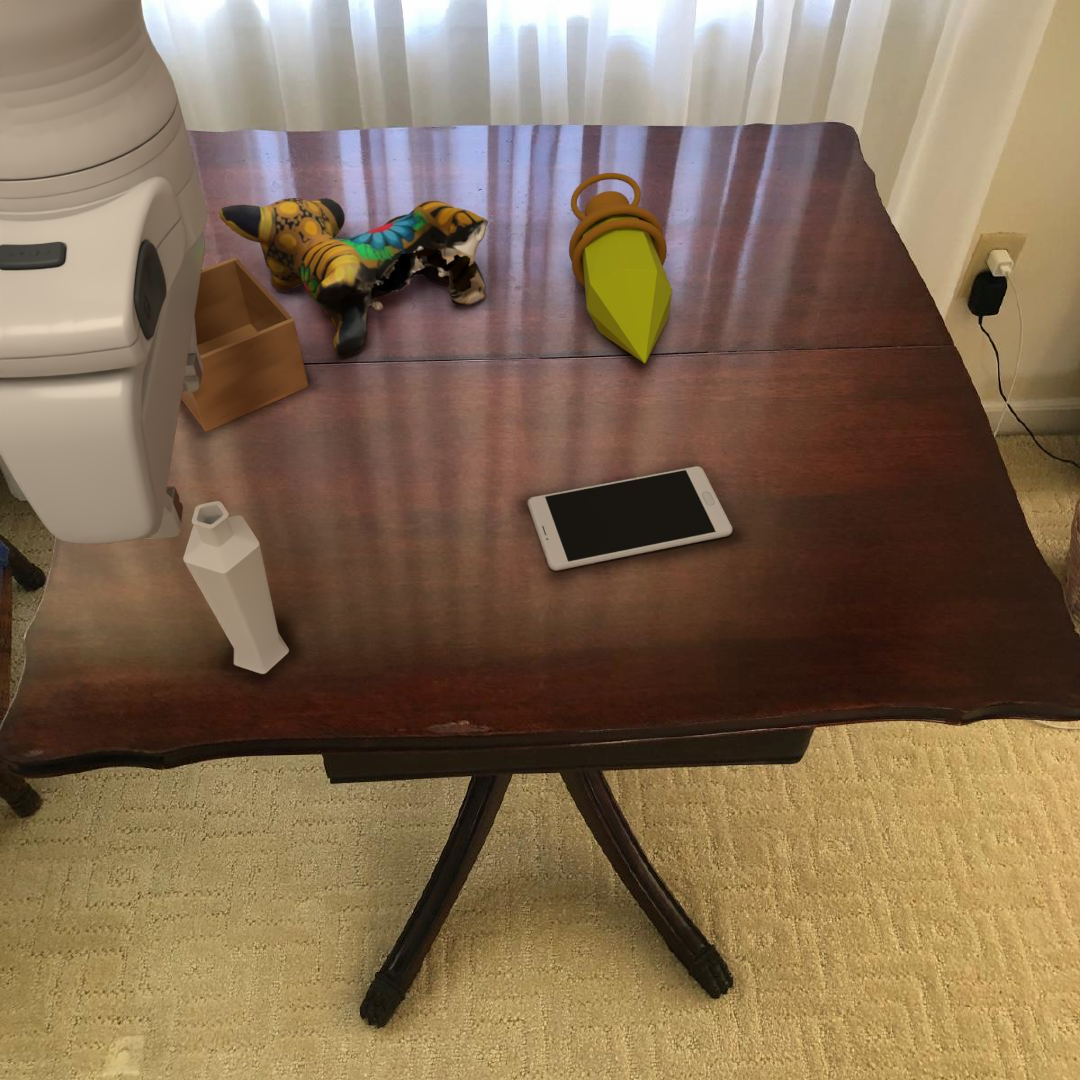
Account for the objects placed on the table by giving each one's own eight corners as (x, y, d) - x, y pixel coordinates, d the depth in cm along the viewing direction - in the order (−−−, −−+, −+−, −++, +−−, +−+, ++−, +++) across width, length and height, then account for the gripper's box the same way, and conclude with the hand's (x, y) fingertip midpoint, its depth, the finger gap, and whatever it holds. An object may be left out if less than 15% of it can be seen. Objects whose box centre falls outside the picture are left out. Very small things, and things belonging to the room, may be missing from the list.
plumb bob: (699, 384, 90) (647, 200, 103) (693, 316, 82) (638, 126, 95) (602, 406, 91) (562, 221, 104) (587, 341, 83) (546, 150, 96)
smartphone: (735, 531, 77) (550, 568, 75) (734, 536, 78) (550, 574, 75) (701, 463, 82) (525, 496, 79) (700, 468, 82) (525, 501, 80)
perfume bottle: (288, 679, 69) (241, 545, 57) (225, 677, 69) (166, 543, 57) (299, 624, 72) (257, 486, 60) (239, 623, 72) (185, 484, 60)
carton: (206, 432, 84) (183, 366, 78) (154, 363, 89) (129, 296, 84) (308, 386, 88) (294, 320, 82) (253, 323, 93) (236, 256, 87)
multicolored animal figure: (488, 333, 99) (384, 240, 106) (514, 223, 90) (398, 129, 97) (319, 390, 88) (214, 281, 95) (330, 270, 79) (213, 160, 86)
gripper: (41, 57, 43) (137, 315, 53) (-92, 376, 30) (69, 631, 41) (191, 52, 43) (256, 309, 54) (123, 363, 30) (225, 618, 41)
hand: (175, 450), depth 47 cm, fingers open, 8 cm apart
